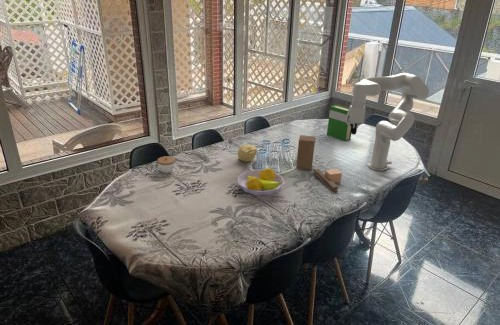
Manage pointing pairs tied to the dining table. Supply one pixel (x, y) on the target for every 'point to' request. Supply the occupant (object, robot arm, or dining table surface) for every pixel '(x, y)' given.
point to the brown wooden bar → (326, 180)
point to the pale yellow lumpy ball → (247, 153)
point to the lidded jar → (166, 164)
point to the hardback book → (338, 123)
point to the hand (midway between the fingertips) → (353, 133)
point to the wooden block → (305, 152)
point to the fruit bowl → (260, 182)
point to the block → (334, 175)
